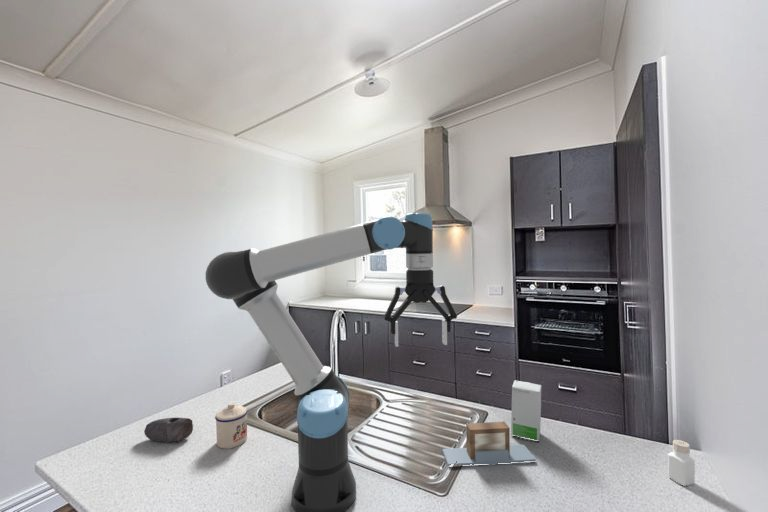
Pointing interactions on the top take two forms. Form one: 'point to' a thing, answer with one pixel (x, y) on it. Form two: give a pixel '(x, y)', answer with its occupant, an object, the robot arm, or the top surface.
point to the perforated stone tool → (169, 429)
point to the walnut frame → (487, 437)
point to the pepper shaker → (681, 463)
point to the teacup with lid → (231, 426)
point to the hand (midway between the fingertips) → (420, 344)
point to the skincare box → (526, 410)
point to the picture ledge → (488, 456)
